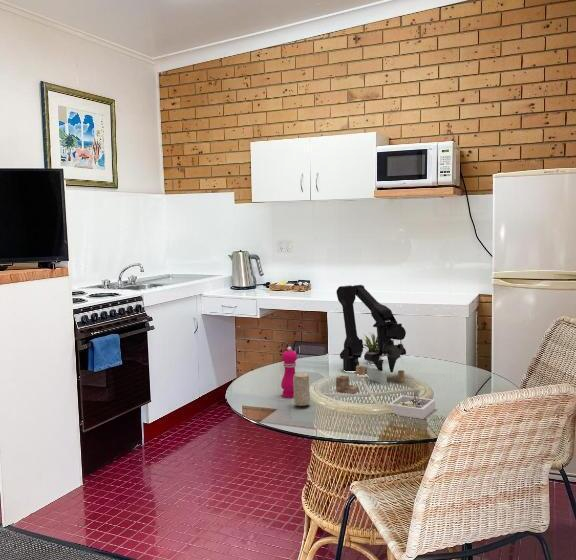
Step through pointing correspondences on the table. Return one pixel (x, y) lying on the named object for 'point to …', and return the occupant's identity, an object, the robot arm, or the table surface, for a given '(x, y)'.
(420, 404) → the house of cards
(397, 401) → the tray
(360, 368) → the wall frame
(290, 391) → the pepper mill
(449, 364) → the table surface
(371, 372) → the door
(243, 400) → the table surface
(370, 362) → the house plant
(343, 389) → the brown boot
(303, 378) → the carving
